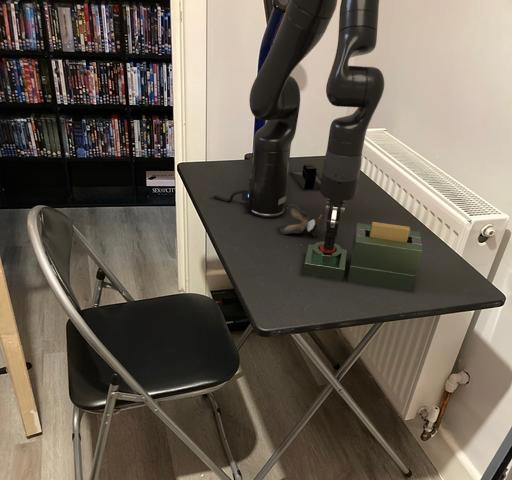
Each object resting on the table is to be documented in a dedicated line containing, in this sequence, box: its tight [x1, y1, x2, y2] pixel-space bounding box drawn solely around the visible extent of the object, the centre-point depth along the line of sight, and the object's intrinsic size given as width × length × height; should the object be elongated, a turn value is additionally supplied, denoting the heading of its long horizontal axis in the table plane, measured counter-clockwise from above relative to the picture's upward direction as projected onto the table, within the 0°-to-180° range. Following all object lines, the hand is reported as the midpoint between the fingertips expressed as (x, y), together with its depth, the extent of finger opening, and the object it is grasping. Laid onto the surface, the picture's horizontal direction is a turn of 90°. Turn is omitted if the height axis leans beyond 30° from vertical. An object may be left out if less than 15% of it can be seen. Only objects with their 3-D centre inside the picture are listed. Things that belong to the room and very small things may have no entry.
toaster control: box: [302, 240, 348, 282], centre depth 129 cm, size 9×9×5 cm
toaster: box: [347, 222, 423, 292], centre depth 126 cm, size 14×9×10 cm, turn 80°
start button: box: [319, 244, 336, 253], centre depth 127 cm, size 4×4×2 cm
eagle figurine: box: [279, 203, 323, 238], centre depth 141 cm, size 8×7×9 cm
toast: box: [369, 221, 411, 243], centre depth 124 cm, size 8×2×8 cm, turn 81°
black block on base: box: [290, 163, 321, 191], centre depth 168 cm, size 12×7×5 cm, turn 13°
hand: (328, 247), depth 127 cm, fingers closed
